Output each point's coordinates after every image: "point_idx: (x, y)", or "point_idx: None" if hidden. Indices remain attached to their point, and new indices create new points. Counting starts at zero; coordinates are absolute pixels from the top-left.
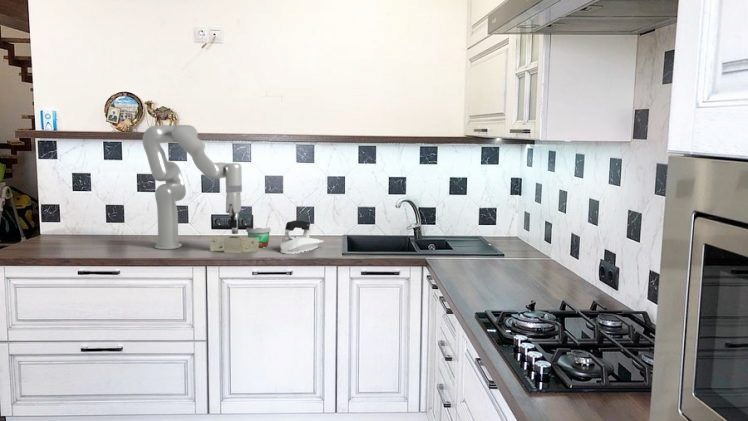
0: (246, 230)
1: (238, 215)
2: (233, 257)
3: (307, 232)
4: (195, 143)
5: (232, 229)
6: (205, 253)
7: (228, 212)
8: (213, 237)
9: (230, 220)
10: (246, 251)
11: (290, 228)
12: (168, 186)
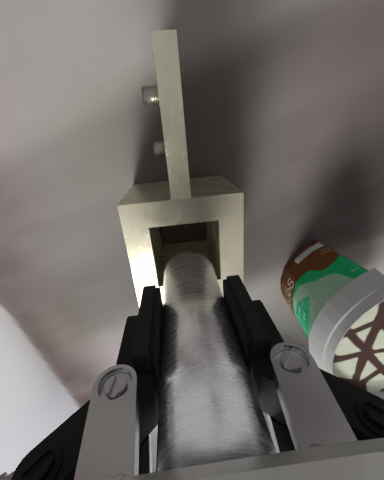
0: (370, 277)
1: (289, 448)
2: (43, 274)
3: None
4: None
5: (164, 287)
6: (67, 75)
7: (162, 474)
8: (157, 76)
9: (134, 353)
10: None
11: None
12: None
